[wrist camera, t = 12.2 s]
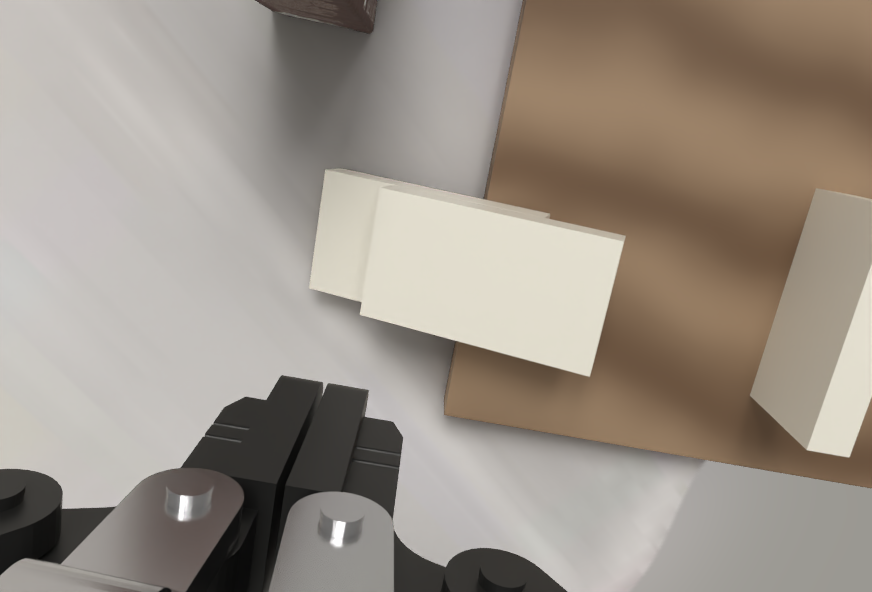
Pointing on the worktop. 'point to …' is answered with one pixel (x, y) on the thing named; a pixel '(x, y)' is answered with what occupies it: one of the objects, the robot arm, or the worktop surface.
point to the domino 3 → (823, 330)
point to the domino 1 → (358, 228)
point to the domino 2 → (491, 277)
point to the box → (329, 12)
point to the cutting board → (678, 210)
